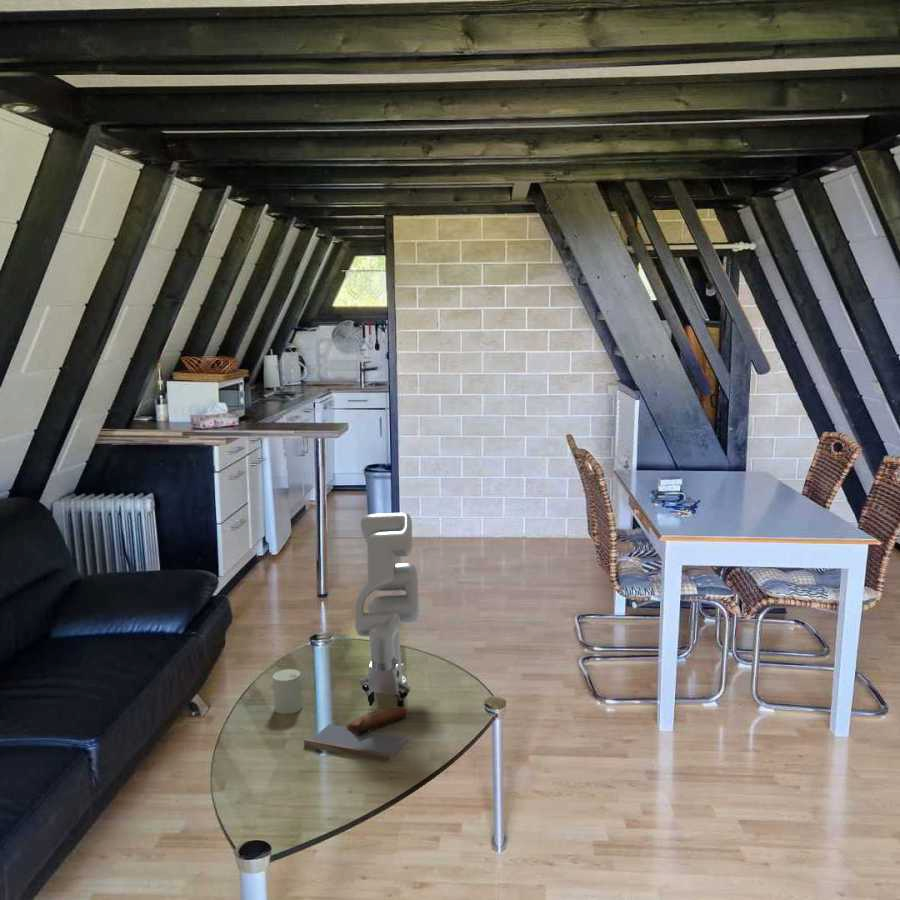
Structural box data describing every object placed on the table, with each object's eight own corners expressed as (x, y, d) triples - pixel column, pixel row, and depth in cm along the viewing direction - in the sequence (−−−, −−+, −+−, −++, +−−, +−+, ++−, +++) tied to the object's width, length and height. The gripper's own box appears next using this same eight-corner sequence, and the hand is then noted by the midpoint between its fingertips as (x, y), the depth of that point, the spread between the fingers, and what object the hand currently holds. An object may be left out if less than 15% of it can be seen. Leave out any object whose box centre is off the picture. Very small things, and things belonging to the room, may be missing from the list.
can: (294, 715, 267) (291, 680, 265) (269, 712, 270) (266, 677, 268) (308, 703, 275) (305, 669, 274) (283, 700, 278) (281, 666, 276)
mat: (329, 724, 260) (329, 724, 260) (409, 739, 249) (409, 738, 249) (306, 744, 248) (306, 743, 248) (389, 760, 237) (389, 759, 237)
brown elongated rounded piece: (390, 708, 268) (396, 695, 265) (402, 725, 264) (408, 712, 261) (344, 726, 256) (350, 712, 253) (355, 744, 252) (361, 730, 249)
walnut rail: (306, 744, 248) (306, 738, 248) (389, 760, 237) (389, 753, 237) (304, 746, 247) (303, 740, 246) (387, 762, 236) (387, 755, 236)
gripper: (413, 658, 262) (415, 702, 268) (362, 650, 266) (365, 694, 272) (405, 672, 255) (407, 717, 261) (353, 663, 260) (356, 708, 266)
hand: (386, 705), depth 267 cm, fingers open, 9 cm apart
